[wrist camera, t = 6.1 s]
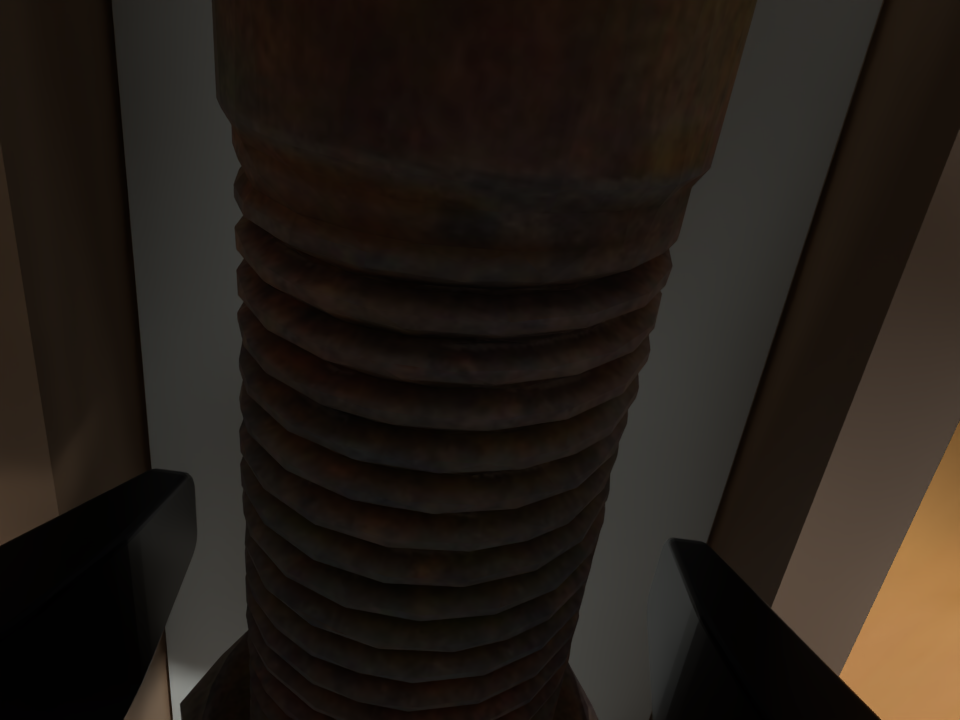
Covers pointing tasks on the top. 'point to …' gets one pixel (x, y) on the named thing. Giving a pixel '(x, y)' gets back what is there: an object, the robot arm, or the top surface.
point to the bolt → (445, 331)
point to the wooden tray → (662, 381)
